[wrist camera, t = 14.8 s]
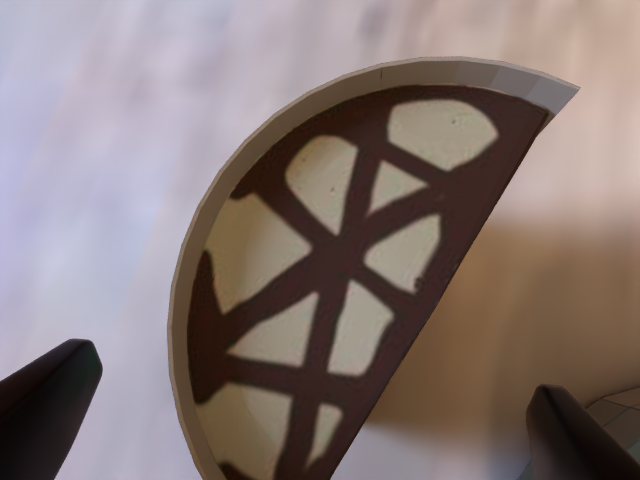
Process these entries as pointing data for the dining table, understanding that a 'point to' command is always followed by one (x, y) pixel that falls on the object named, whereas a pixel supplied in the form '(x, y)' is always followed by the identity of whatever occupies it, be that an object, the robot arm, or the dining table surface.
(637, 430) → the bowl
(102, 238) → the dining table surface
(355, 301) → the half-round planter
